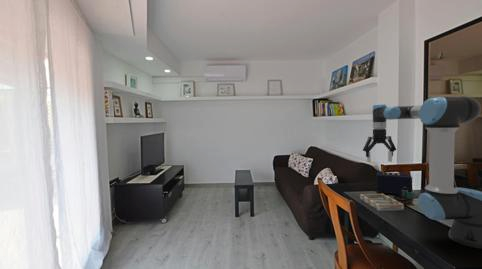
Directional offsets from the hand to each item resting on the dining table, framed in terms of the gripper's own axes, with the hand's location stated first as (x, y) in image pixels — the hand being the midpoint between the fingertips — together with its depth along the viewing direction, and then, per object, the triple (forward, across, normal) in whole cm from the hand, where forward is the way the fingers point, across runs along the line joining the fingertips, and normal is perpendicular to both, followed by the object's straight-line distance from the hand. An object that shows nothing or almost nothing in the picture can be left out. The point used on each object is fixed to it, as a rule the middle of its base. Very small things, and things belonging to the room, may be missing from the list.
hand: (379, 161), depth 160 cm
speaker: (+28, -23, -23) cm, 43 cm away
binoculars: (+28, -16, -1) cm, 33 cm away
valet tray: (+28, -1, -1) cm, 28 cm away
